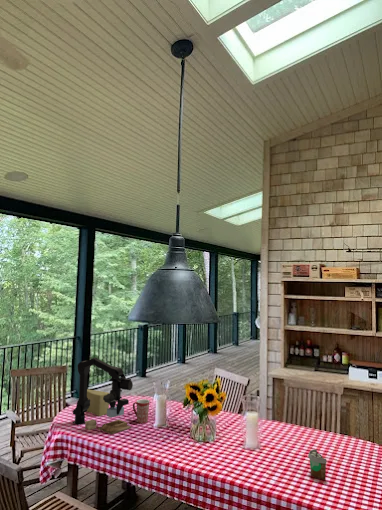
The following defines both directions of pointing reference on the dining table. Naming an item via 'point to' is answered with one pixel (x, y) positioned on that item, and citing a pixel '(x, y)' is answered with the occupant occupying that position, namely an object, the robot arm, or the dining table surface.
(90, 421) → the tan rectangular block
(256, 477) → the dining table surface
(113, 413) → the grey block
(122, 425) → the tray
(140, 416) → the mug
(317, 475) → the food container
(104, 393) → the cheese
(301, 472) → the dining table surface
